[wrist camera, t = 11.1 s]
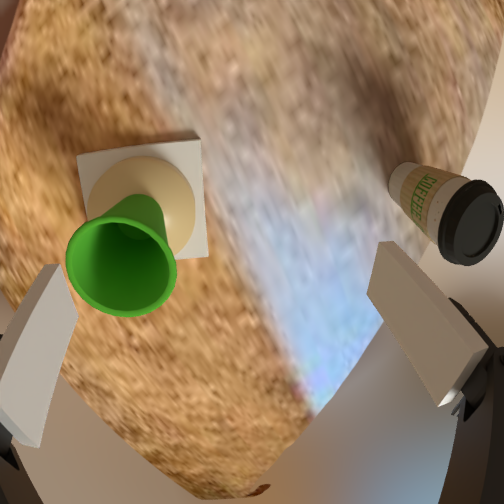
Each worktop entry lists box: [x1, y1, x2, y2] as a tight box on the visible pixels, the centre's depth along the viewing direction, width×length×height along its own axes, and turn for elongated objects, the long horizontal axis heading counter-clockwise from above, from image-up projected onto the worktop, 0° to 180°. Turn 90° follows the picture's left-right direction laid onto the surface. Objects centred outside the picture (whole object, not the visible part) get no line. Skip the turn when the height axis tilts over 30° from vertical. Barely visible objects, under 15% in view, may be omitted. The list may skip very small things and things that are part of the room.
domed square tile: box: [76, 139, 209, 260], centre depth 34 cm, size 14×14×4 cm
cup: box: [66, 194, 177, 317], centre depth 27 cm, size 9×9×11 cm
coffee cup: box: [388, 162, 504, 266], centre depth 33 cm, size 10×10×15 cm
